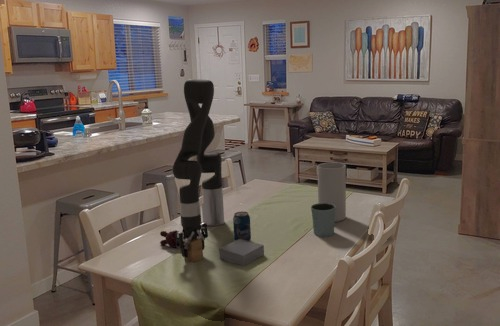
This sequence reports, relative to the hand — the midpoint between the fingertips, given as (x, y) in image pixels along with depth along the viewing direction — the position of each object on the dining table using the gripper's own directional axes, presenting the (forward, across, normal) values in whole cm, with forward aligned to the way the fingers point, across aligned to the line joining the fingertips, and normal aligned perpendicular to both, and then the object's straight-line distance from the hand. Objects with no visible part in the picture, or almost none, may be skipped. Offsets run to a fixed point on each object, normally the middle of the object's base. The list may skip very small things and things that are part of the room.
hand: (193, 253), depth 178 cm
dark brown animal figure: (+3, -5, -16) cm, 17 cm away
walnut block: (+2, 0, 0) cm, 2 cm away
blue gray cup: (+2, -50, +27) cm, 57 cm away
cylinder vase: (+2, -69, +20) cm, 72 cm away
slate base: (+2, -12, +14) cm, 18 cm away
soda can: (+2, -24, +4) cm, 24 cm away
